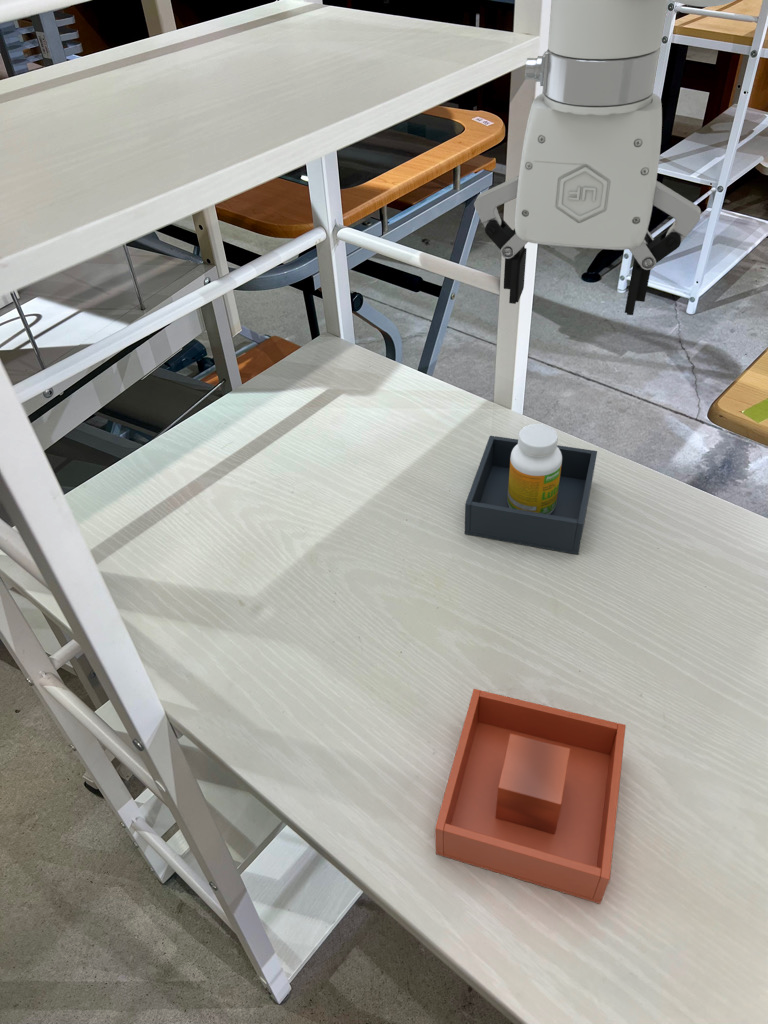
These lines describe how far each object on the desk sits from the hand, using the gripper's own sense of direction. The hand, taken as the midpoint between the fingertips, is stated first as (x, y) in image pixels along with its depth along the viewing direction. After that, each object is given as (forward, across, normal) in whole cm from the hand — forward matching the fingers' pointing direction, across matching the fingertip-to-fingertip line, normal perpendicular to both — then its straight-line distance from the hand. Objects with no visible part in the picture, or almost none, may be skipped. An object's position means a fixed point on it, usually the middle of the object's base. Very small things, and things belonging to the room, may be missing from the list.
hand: (572, 301), depth 64 cm
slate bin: (+26, -2, +2) cm, 26 cm away
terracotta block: (+26, +4, -32) cm, 41 cm away
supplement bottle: (+26, -2, +2) cm, 26 cm away
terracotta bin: (+26, +4, -32) cm, 42 cm away
